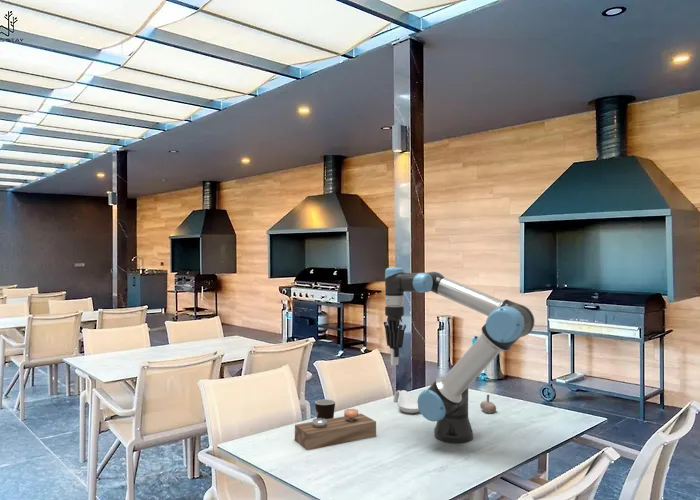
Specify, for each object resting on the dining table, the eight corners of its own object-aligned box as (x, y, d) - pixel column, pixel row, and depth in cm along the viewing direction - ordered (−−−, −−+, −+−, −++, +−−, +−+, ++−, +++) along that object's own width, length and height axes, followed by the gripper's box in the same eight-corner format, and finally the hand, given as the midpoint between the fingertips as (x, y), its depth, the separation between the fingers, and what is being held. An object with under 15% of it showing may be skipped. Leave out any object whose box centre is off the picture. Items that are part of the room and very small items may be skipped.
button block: (376, 436, 205) (376, 421, 205) (307, 450, 190) (307, 433, 190) (361, 427, 215) (361, 413, 215) (294, 440, 201) (294, 424, 201)
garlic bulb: (483, 408, 243) (483, 391, 243) (499, 411, 239) (498, 394, 239) (477, 412, 237) (477, 395, 237) (493, 415, 233) (493, 397, 233)
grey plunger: (329, 441, 198) (329, 421, 199) (316, 444, 196) (316, 423, 196) (323, 437, 203) (323, 417, 203) (310, 439, 201) (310, 419, 201)
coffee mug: (332, 429, 213) (332, 405, 213) (312, 428, 215) (312, 404, 215) (338, 421, 225) (338, 398, 225) (319, 419, 226) (319, 397, 226)
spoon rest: (427, 414, 234) (427, 399, 234) (403, 417, 231) (403, 401, 231) (408, 401, 257) (408, 386, 257) (385, 402, 254) (385, 388, 254)
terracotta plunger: (360, 431, 205) (360, 411, 205) (348, 434, 202) (348, 413, 203) (354, 427, 210) (353, 408, 210) (341, 429, 207) (341, 410, 208)
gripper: (377, 305, 210) (378, 362, 210) (395, 307, 199) (395, 368, 199) (393, 304, 214) (393, 361, 214) (411, 306, 203) (411, 366, 202)
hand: (394, 364), depth 206 cm, fingers closed
